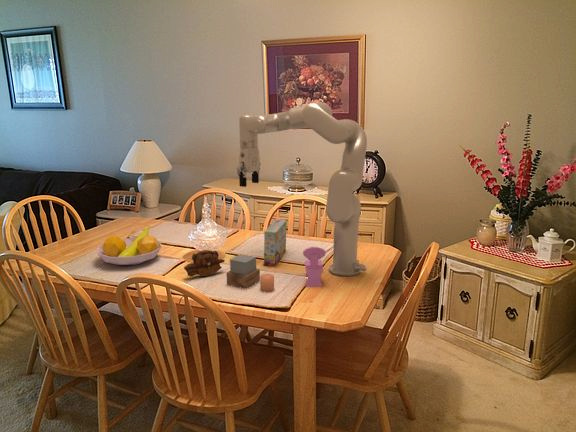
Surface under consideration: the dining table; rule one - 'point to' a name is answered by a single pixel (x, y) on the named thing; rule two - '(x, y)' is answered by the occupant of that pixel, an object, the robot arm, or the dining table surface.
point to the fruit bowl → (129, 249)
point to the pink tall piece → (313, 266)
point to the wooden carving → (204, 263)
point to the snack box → (274, 242)
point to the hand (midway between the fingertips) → (249, 184)
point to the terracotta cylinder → (267, 282)
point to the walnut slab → (243, 279)
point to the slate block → (243, 264)
